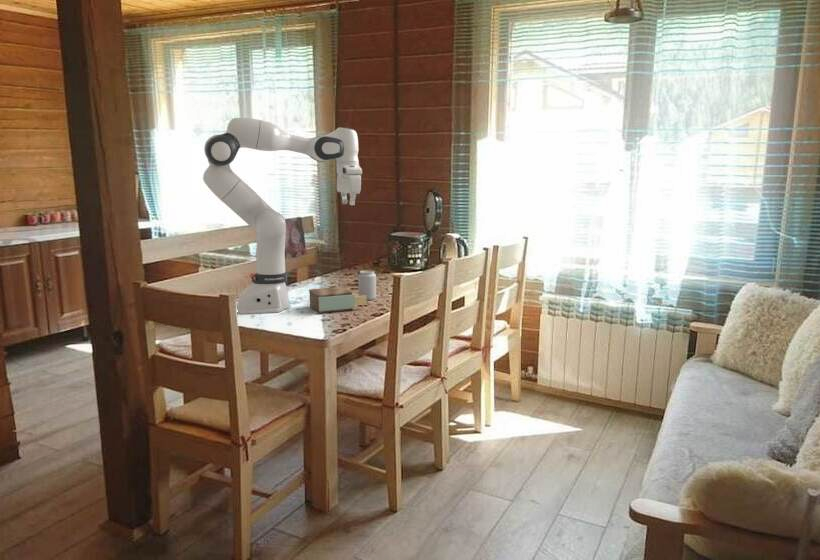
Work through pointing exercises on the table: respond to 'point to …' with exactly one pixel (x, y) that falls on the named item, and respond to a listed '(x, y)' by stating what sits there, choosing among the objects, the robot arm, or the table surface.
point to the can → (367, 284)
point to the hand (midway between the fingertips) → (348, 204)
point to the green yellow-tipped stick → (340, 302)
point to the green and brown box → (326, 293)
